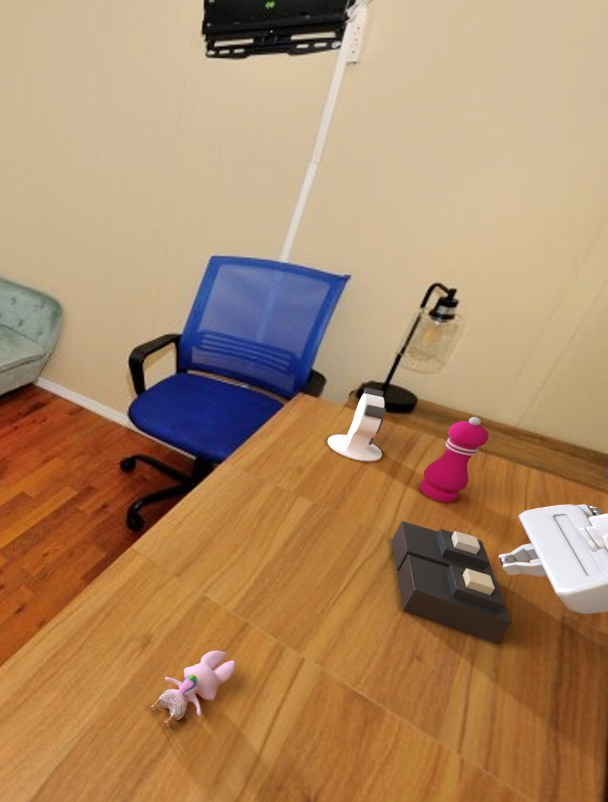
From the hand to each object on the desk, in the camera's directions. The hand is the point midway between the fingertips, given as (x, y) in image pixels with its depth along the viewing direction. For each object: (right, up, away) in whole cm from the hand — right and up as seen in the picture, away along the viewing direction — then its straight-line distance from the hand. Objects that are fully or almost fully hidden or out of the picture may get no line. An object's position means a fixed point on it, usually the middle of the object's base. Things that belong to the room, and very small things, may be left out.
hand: (502, 565), depth 82 cm
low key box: (+1, -5, +13) cm, 14 cm away
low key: (+2, 0, +9) cm, 9 cm away
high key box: (-4, -9, +6) cm, 12 cm away
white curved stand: (+12, +12, +47) cm, 50 cm away
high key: (-3, -4, +2) cm, 5 cm away
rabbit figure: (-53, -17, -7) cm, 56 cm away
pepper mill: (+19, +4, +31) cm, 37 cm away
